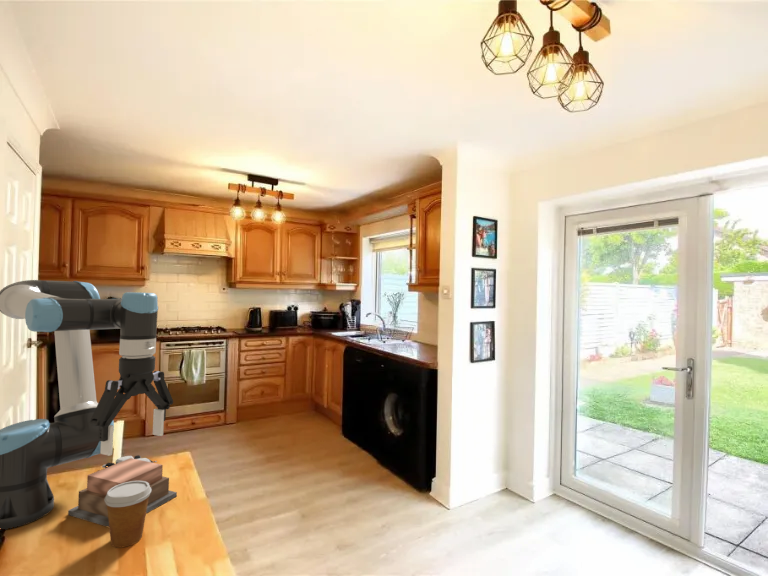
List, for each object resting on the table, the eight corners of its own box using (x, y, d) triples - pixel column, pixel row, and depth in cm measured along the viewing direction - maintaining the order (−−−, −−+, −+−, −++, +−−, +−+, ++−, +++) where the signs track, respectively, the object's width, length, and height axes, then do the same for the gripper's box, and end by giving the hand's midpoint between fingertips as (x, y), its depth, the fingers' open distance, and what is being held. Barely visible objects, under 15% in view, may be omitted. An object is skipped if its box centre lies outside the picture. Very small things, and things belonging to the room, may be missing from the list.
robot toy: (99, 475, 131) (114, 486, 122) (99, 460, 132) (114, 470, 122) (141, 463, 141) (157, 473, 131) (141, 450, 141) (157, 459, 131)
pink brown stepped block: (68, 514, 106) (69, 477, 106) (131, 485, 123) (132, 453, 123) (116, 529, 100) (118, 490, 100) (176, 496, 116) (177, 462, 117)
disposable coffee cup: (141, 549, 92) (143, 496, 92) (94, 554, 90) (96, 500, 90) (155, 526, 101) (157, 478, 102) (112, 530, 99) (114, 481, 99)
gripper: (97, 365, 84) (92, 466, 84) (190, 350, 108) (186, 430, 107) (72, 362, 86) (67, 461, 86) (168, 348, 110) (165, 426, 110)
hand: (133, 444), depth 97 cm, fingers open, 13 cm apart
